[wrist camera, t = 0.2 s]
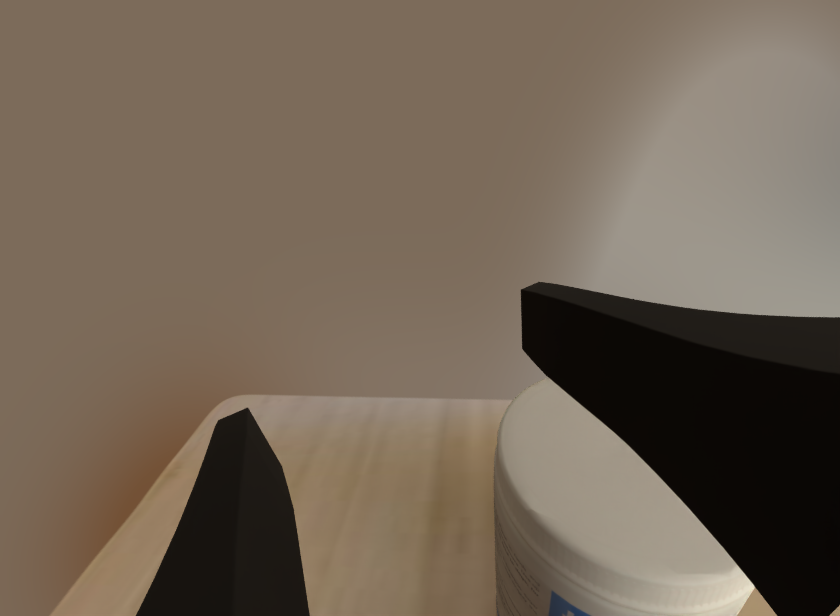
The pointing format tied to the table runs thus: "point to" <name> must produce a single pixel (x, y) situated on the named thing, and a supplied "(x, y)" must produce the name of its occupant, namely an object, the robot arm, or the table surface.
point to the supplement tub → (596, 523)
